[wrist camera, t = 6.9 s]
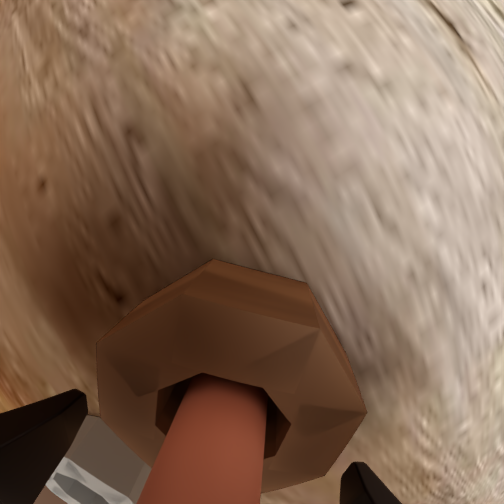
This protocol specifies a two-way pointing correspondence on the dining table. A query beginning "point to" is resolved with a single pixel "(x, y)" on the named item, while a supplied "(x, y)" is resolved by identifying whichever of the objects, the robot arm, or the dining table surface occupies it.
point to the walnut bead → (233, 366)
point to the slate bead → (99, 468)
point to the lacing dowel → (212, 446)
